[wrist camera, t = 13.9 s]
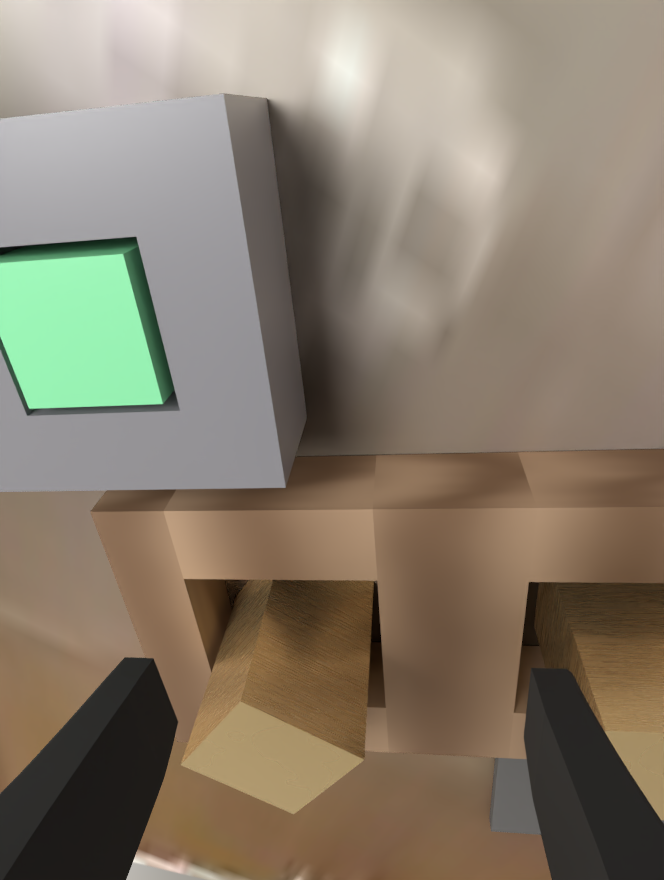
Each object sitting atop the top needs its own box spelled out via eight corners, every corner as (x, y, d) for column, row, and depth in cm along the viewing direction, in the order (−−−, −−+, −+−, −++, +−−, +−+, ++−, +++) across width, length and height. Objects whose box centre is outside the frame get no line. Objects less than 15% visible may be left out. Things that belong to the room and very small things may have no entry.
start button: (171, 228, 15) (123, 254, 12) (200, 358, 16) (162, 403, 14) (44, 239, 15) (-29, 265, 13) (85, 363, 17) (29, 408, 14)
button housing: (266, 98, 14) (223, 93, 10) (307, 417, 18) (285, 487, 15) (-58, 133, 15) (-191, 140, 12) (54, 425, 20) (-20, 491, 16)
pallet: (817, 445, 17) (891, 505, 14) (717, 696, 23) (757, 770, 20) (130, 460, 20) (90, 511, 17) (199, 679, 26) (177, 741, 23)
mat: (719, 719, 24) (726, 733, 23) (673, 830, 28) (678, 843, 28) (499, 711, 25) (501, 723, 24) (489, 818, 29) (491, 831, 29)
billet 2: (663, 545, 20) (780, 738, 14) (641, 625, 22) (735, 825, 16) (543, 545, 20) (605, 730, 14) (533, 624, 22) (584, 815, 16)
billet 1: (373, 581, 22) (364, 760, 16) (320, 636, 24) (293, 814, 18) (285, 532, 21) (240, 701, 15) (238, 593, 23) (180, 765, 17)
